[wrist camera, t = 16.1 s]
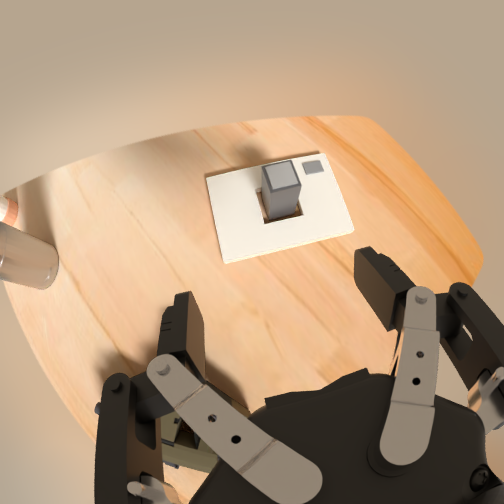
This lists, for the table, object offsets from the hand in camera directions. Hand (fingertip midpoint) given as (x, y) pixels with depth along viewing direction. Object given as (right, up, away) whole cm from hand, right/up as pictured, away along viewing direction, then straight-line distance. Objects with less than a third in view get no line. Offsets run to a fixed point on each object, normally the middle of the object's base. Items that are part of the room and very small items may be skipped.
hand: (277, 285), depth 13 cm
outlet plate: (+3, +9, +29) cm, 30 cm away
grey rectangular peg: (+3, +9, +29) cm, 30 cm away
